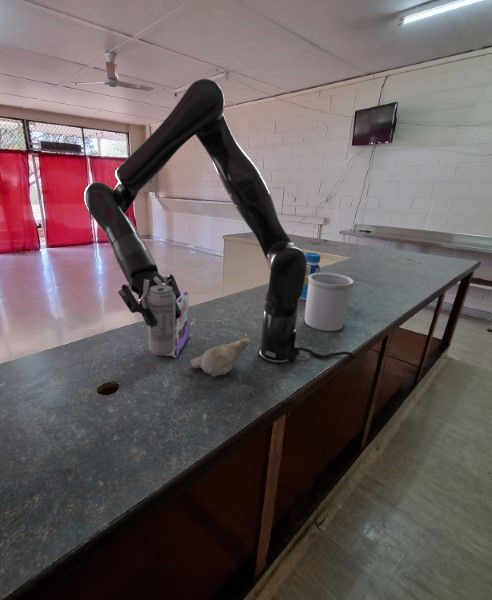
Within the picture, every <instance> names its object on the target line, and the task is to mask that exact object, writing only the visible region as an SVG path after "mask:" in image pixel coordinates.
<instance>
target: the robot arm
mask: <svg viewBox="0 0 492 600" xmlns="http://www.w3.org/2000/svg"><path fill="white" fill-rule="evenodd" d="M224 111H225V95H224V92H223V89H222V88H221V86H220V85H219V84H218V83H217V82H216V81H214V80H211V79H209V78H201V79H197V80H195V81H194V82H192V83H191V84H190V85H189V86H188V87H187V89H186V91H185V92H184V93H183V95H182V96H181V98H180V99H179V101H178V102H177V103H176V105H175V106H174V107H173V109H172V110H171V112H170V113H169V114H168V116H167V117H166V118H165V119H164V120H163V122H162V123H161V124H160V125H159V126H158V127H157V128H156V129H155V130H154V132H153V133H152V134H150V136H149V137H147V138H146V140H144V141H143V142H142V143H141V144H140V145H139V146H138V147H137V148H136V149H135V150H134V151H133V152H132V153H131V154H130V155H129V156H127V158H126V159H125V160H124V161H123V162H122V163H121V164H120V165H119V166H118V167H117V169H116V170H115V178H116V179H117V181H118V182H117V184H116V185H115V187H114V189H113V188H112V187H111V186H109V185H108V184H107V183H104V182H102V181H101V182H100V181H94V182H92V183H90V184H89V185H88V186H87V187H86V188H85V191H84V203H85V206H86V208H87V210H88V212H89V214H91V216H92V218H93V219H94V221H95V222H96V223H97V225H98V226H99V227H100V229H101V230H102V231H103V233H104V234H105V237H106V239H107V241H108V243H109V245H110V247H111V249H112V251H113V254H114V257H115V260H116V262H117V264H118V265H119V268H120V270H121V272H122V273H123V276H124V278H125V280H126V282H127V283H128V284H124V283H123V284H122V285H121V286H120V288H119V290H118V291H117V292H118V294H119V296H120V298H121V299H122V301H123V303H125V305H126V307H127V308H128V310H129V311H130V313H132V314H135V313H139V314H141V316H142V318H143V320H144V322H145V324H146V325H147V327H148V326H150V327H151V328H152V327H154V326H155V325H156V324H157V321H156V319H155V317H154V315H153V313H152V312H151V310H150V308H149V309H148V301H147V296H148V293H149V292H150V288H151V287H152V286H155V285H168V286H171V287H172V288H173V289H172V290H173V292H174V294H175V320H176V319H178V318H179V317H180V316H181V310H180V308H179V306H178V304H177V302H176V300H177V299H178V298H179V297H180V296H181V294H180V291H179V290H180V289H179V286H178V284H177V281H176V279H175V276H174V275H173V274H169V275H168V276H163V275H162V274H161V273H159V269H158V265H157V263H156V262H155V260H154V258H153V256H152V254H151V252H150V250H149V248H148V246H147V245H146V243H145V241H144V240H143V238H142V237H141V235H140V233H139V232H138V229H137V227H136V226H135V224H134V222H133V221H132V220H131V218H130V217H129V216H128V215H127V212H128V211H129V210H130V208H131V206H132V205H133V203H134V201H135V200H136V199H137V197H138V195H139V194H140V192H141V190H143V189H144V188H145V187H146V186H147V185H148V184H149V183H150V182H151V181H152V180H153V179H155V177H156V176H157V175H158V174H159V173H160V172H161V171H162V170H163V168H164V167H166V165H167V164H168V162H169V161H170V160H171V159H172V158H173V156H174V155H175V154H176V153H177V152H178V151H179V150H180V149H181V148H182V147H183V146H184V145H185V144H186V143H187V142H188V141H189V140H190V139H191V138H193V137H194V136H195V137H196V138H197V139H198V141H199V143H201V145H202V147H203V148H204V150H205V152H206V153H207V154H208V156H209V158H210V159H211V162H212V164H213V167H214V169H215V171H216V173H217V175H218V177H219V180H220V181H221V184H222V185H223V187H224V189H225V191H226V193H227V195H228V197H229V198H230V200H231V202H232V205H233V206H234V208H235V209H236V211H237V213H238V214H239V215H240V217H241V218H242V220H243V221H244V222H245V224H246V225H247V227H248V228H249V229H250V231H251V232H252V234H253V235H254V236H255V238H256V240H257V242H258V245H259V246H260V248H261V250H262V253H263V255H264V259H265V261H266V264H267V266H268V268H269V269H270V271H269V272H270V273H269V281H268V288H267V290H266V291H265V299H264V306H263V307H264V308H263V317H262V318H263V320H262V330H261V338H260V348H259V356H260V357H261V358H262V359H263V360H265V361H267V362H268V363H273V364H285V363H292V362H293V360H294V356H298V357H299V355H300V351H303V352H306V353H309V354H310V355H311V356H313V357H316V358H320V359H327V358H331V357H338V356H342V355H347V356H350V357H351V358H353V359H355V358H357V357H356V355H355V354H354V353H352V352H350V351H344V350H343V351H337V352H331V353H328V354H320V353H316V352H315V351H313V350H311V349H309V348H307V347H301V346H300V344H299V340H296V337H297V329H296V326H297V320H298V319H297V318H298V312H299V304H300V300H301V299H300V297H301V295H302V292H303V287H304V282H305V276H306V269H307V259H306V256H305V253H304V251H302V249H300V248H299V247H297V246H296V245H295V244H294V243H293V241H292V240H291V239H290V237H289V236H288V234H287V232H286V230H285V229H284V227H283V226H282V223H281V221H280V220H279V217H278V214H277V213H278V212H277V210H276V206H275V203H274V200H273V197H272V194H271V192H270V190H269V188H268V185H267V183H266V181H265V179H264V177H263V176H262V173H261V172H260V170H259V169H258V166H256V163H254V162H253V160H252V159H251V158H250V156H249V155H248V154H247V153H246V152H245V150H244V149H243V148H242V147H241V146H240V145H239V144H238V142H237V140H236V139H235V137H234V136H233V133H232V131H231V129H230V127H229V124H228V122H227V120H226V117H225V115H224ZM132 292H133V293H135V294H136V295H137V299H136V297H135V295H134V294H133V293H132Z"/></svg>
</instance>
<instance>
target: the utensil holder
mask: <svg viewBox="0 0 492 600" xmlns="http://www.w3.org/2000/svg"><path fill="white" fill-rule="evenodd" d="M308 280H309V284H308V292H307V300H305V308H304V309H305V310H304V323H305V324H306V325H307V326H308V327H311V328H313V329H316V330H319V331H323V332H336V331H340V330H342V329H343V328H344V324H345V319H346V316H347V311H348V307H349V302H350V297H351V293H352V287H353V285H354V280H353V278H351V277H349V276H347V275H344V274H340V273H334V272H333V273H332V272H319V273H313V274H310V275H309V278H308Z"/></svg>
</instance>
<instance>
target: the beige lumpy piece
mask: <svg viewBox="0 0 492 600" xmlns="http://www.w3.org/2000/svg"><path fill="white" fill-rule="evenodd" d="M250 343H251V338H250V337H247V338H246V337H245V338H242V339H240V338H239V339H238V340H237V341H233V342H231V343H226V344H220V345H217V346H214V347H212V348H210V349H208V350H206V351H204V352H203V354H202V355H200V356H196V357H195V358H192V359H191V360H190V364H191V366H192V367H194V368H195V369H198V368H199V369H200V368H201V369H202V370H203V372H204V373H205V374H208V375H210V376H212V377H213V378H215V377H218V376H221V375H222V376H226V375H227V373H229V372H231V370H233V368H234V367H235V365H236V364H237V361H238V359H239V357H240V356H241V354H242V352H244V350H245V349H246V348H247V346H248V345H249V344H250Z"/></svg>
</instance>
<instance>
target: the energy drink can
mask: <svg viewBox="0 0 492 600" xmlns="http://www.w3.org/2000/svg"><path fill="white" fill-rule="evenodd" d="M172 289H173V288H172V287H171V286H168V285H165V284H164V285H155V286H152V287H151V288H150V292H149V293H148V296H147V301H148V309H149V308H150V310H151V312H152V313H153V315H154V317H155V319H156V321H157V324H156V325H155V326H154V327H152V328H151V327H150V326H148V325H147V327H148V330H147V331H148V349H149V350H150V351H151V352H152V353H153V354H154V355H156V356H161V355H167V354H170V353H171V352H172V351H173V349H174V348H175V346H176V345H175V294H174V292H173V290H172Z"/></svg>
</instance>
